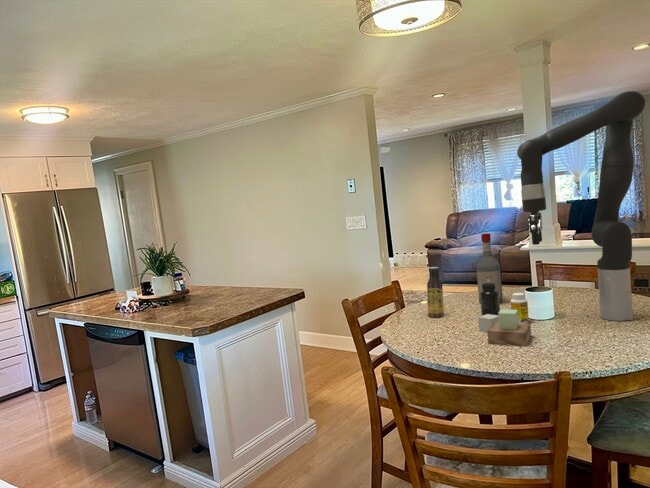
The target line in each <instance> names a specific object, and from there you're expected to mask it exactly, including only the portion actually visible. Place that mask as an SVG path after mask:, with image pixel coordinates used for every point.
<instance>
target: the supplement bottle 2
mask: <svg viewBox="0 0 650 488" xmlns="http://www.w3.org/2000/svg"><path fill="white" fill-rule="evenodd" d="M528 305H529V304H528V299H526V295H525V293H523V292H515V293H512V298H511V299H510V310H518V319H519V323H529V319H530V318H529V306H528Z"/></svg>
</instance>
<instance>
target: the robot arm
mask: <svg viewBox="0 0 650 488" xmlns="http://www.w3.org/2000/svg"><path fill="white" fill-rule="evenodd" d="M645 106H646V100H645V97H644V96H643V95H642V94H641V93H640V92H638V91H633V90H628V91H624V92H621V93H619V94H618V95H616V96H615V97H614V98H612V99H611V100H610V101H608V102H607V103H605V104H604V105H602V106H600V107H598V108H596V109H595V110H592V111H590V112H588V113H586V114H584V115H582V116H579V117H577V118H574V119H572V120H570V121H567V122H566V123H562V124H561V125H559V126H557V127H553V128H551V129H549V130H548V131H546V132H545V133H544V134H541V135H539V136H536V137H533V138H532V139H528V140H525V141H523V143H521V144H520V145H519V146H518V148H517V151H516V152H517V153H516V154H517V156H518V158H519V160H520V165H521V170H520V184H521V191H520V193H521V204H522V206H521V207H522V211H523V212H524V213H529V215H528V223H529V224H528V225H529V233H530V234H531V243H532V245H533V246H535V245H536V246H537V245H540V244H541V243H542V241H543V236H542V233H543V232H542V231H543V217H542V213H541V212H540V211H545V210H547V201H546V190H545V186H544V176H543V175H544V174H543V156H544V155H547V154H548V153H550V152H553V151H555V150H558V149H561V148H563V147H565V146H568V145H570V144H572V143H575V142H576V141H578V140H581V139H582V138H584V137H586V136H587V135H590V134H591V133H593V132H595V131H598V130H600V129H602V128H603V127H605V139H604V140H605V141H604V145H603V151H602V159H601V163H600V164H601V165H600V174H599V187H598V194H597V204H596V209H595V215H594V219H593V224H592V228H591V238H592V239H591V240H592V241H593V242H594V244H595V245H597V246H599V247H601V248H602V254H601V255H602V256H601V257H600V258H599V259H598V260H597V261H596V262H597V263H596V264H597V265H596V266H597V279H598V280H597V281H598V297H599V309H600V310H599V313H600V318H601V319H603V320H607V321H612V322H613V321H614V322H615V321H616V322H620V321H621V322H622V321H625V322H626V321H633V320H634V312H633V310H634V308H633V296H632V295H633V294H632V284H631V283H632V282H631V265H630V264H631V261H632V259H633V235H632V231H631V228H630V227H629V225H627V224H626V223H625V222H623V221H619V219H620V218H619V215H620V208H621V206H622V203H623V201H624V198H625V197H626V195H627V193H628V192H629V189H630V187H631V186H632V185H631V184H632V181H633V176H634V175H633V174H634V166H635V164H634V163H635V162H634V161H635V160H634V154H633V148H632V144H631V135H632V134H631V133H632V129H633V128H632V127H633V123H634V119H636V118H637V117H638V116H640V114H642V112H643V110H644V108H645ZM540 242H541V243H540Z"/></svg>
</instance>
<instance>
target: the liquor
mask: <svg viewBox="0 0 650 488" xmlns="http://www.w3.org/2000/svg"><path fill="white" fill-rule="evenodd" d="M480 237H481V242H482V257H481V259H480V260H479V262H478V263H477V264H476V278H477V279H476V280H477V290H478V302H479V304H480V305H481V300H480V293H481V292H482V291H483V289H482V284H486V283H493V284H495V287H496V289H495V290H496V291H497V292H498V293H499V304H500V305H502V302H503V299H504V297H503V287H502V286H503V285H502V284H503V283H502V274H501V273H502V271H501V264H500V262H499V261H498V260H497V259H496V258H495V257H494V256H493V253H492V250H491V249H492V247H491V242H492V241H491V240H492V239H491V238H492V237H491V233H488V232H487V233H481V236H480Z"/></svg>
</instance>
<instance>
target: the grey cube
mask: <svg viewBox="0 0 650 488" xmlns="http://www.w3.org/2000/svg"><path fill="white" fill-rule="evenodd" d="M477 319H478V328H479V329H478V330H479V332H483V333H487V331H488V329H489V328H490V327H491V326H492V324H493V323H494V322H499V318H498V315H491V314H486V315H480V316H478V318H477Z"/></svg>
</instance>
